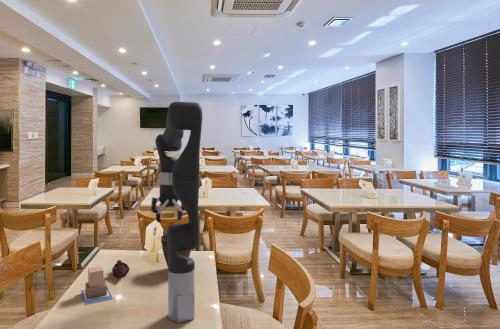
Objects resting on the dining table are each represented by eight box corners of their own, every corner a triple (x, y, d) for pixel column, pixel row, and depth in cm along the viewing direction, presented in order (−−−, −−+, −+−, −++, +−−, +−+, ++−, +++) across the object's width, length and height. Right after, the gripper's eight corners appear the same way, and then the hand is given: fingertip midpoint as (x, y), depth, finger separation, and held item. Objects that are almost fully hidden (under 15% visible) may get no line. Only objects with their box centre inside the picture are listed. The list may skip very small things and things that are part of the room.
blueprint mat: (113, 300, 139) (113, 298, 139) (84, 306, 134) (84, 304, 134) (107, 286, 151) (106, 285, 151) (80, 291, 146) (80, 290, 146)
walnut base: (107, 295, 142) (106, 285, 142) (87, 299, 139) (87, 289, 138) (104, 288, 148) (103, 279, 148) (85, 292, 145) (85, 282, 144)
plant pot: (158, 266, 174) (157, 234, 173) (188, 262, 181) (188, 231, 179) (164, 277, 161) (164, 243, 160) (196, 272, 167) (196, 239, 166)
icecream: (133, 266, 157) (127, 259, 170) (116, 265, 153) (111, 257, 166) (130, 282, 156) (124, 273, 169) (112, 281, 152) (107, 272, 166)
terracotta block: (103, 285, 142) (103, 270, 142) (90, 287, 140) (89, 272, 139) (101, 280, 147) (101, 266, 146) (88, 283, 144) (87, 268, 143)
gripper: (154, 184, 142) (154, 225, 143) (188, 182, 149) (188, 221, 150) (149, 182, 148) (149, 221, 150) (182, 180, 155) (182, 217, 157)
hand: (169, 221), depth 150 cm, fingers open, 8 cm apart
